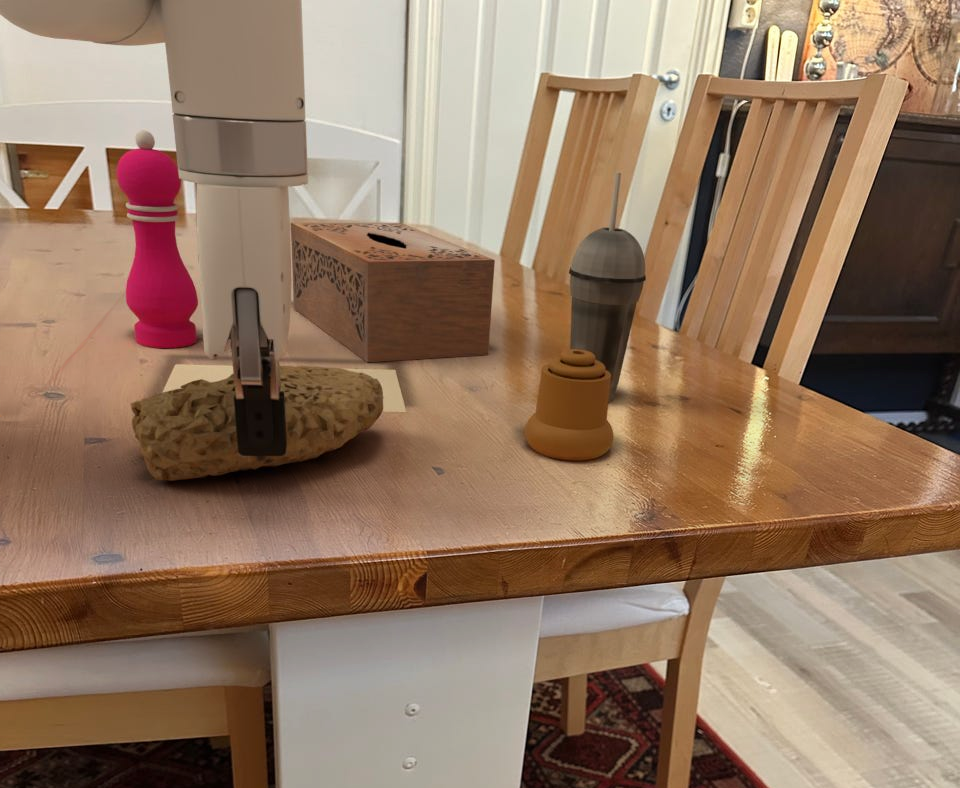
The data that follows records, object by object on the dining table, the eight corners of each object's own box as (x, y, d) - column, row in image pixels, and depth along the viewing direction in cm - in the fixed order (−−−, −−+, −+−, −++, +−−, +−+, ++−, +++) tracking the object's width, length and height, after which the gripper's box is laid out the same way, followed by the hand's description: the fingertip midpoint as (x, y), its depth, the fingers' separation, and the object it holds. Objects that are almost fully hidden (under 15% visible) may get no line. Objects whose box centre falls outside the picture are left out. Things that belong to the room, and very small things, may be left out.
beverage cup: (559, 405, 89) (585, 174, 79) (551, 384, 96) (574, 167, 85) (633, 409, 90) (669, 180, 79) (621, 388, 96) (652, 173, 86)
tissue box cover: (488, 354, 104) (494, 260, 99) (367, 362, 98) (367, 261, 93) (399, 304, 123) (401, 223, 118) (293, 308, 117) (290, 222, 112)
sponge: (166, 519, 64) (428, 438, 70) (125, 408, 61) (404, 332, 66) (150, 483, 76) (377, 416, 81) (115, 388, 72) (354, 325, 78)
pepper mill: (135, 332, 102) (110, 125, 92) (203, 333, 104) (186, 130, 93) (127, 349, 96) (98, 130, 86) (199, 350, 98) (179, 135, 87)
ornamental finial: (526, 429, 82) (610, 437, 82) (521, 458, 76) (612, 467, 76) (534, 337, 78) (623, 345, 78) (530, 360, 72) (626, 368, 72)
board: (155, 409, 81) (154, 407, 81) (175, 366, 93) (175, 364, 93) (406, 414, 85) (406, 411, 85) (395, 371, 96) (395, 369, 96)
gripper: (192, 141, 60) (218, 417, 70) (156, 160, 48) (193, 493, 57) (309, 147, 62) (319, 418, 71) (304, 167, 49) (317, 493, 58)
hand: (263, 451), depth 64 cm, fingers closed
